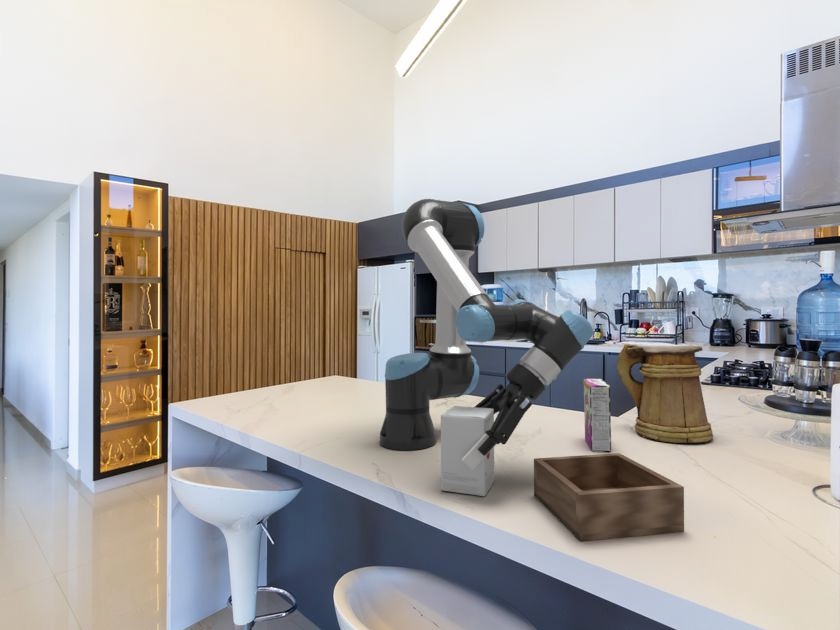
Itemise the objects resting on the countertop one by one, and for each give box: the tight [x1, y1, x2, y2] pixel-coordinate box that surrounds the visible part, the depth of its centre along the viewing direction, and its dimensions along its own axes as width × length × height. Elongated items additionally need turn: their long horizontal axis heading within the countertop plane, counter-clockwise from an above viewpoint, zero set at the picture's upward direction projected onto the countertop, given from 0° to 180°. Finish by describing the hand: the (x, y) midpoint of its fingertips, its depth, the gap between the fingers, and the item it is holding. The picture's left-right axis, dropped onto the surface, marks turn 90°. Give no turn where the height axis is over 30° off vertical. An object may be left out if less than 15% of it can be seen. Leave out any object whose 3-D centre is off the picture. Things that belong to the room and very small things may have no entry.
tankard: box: [616, 343, 714, 444], centre depth 127 cm, size 18×24×25 cm
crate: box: [533, 452, 685, 542], centre depth 79 cm, size 17×17×7 cm
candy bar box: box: [583, 378, 612, 453], centre depth 118 cm, size 11×5×16 cm, turn 168°
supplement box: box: [440, 405, 495, 497], centre depth 91 cm, size 9×9×15 cm
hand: (459, 454), depth 91 cm, fingers closed on supplement box, 12 cm apart
